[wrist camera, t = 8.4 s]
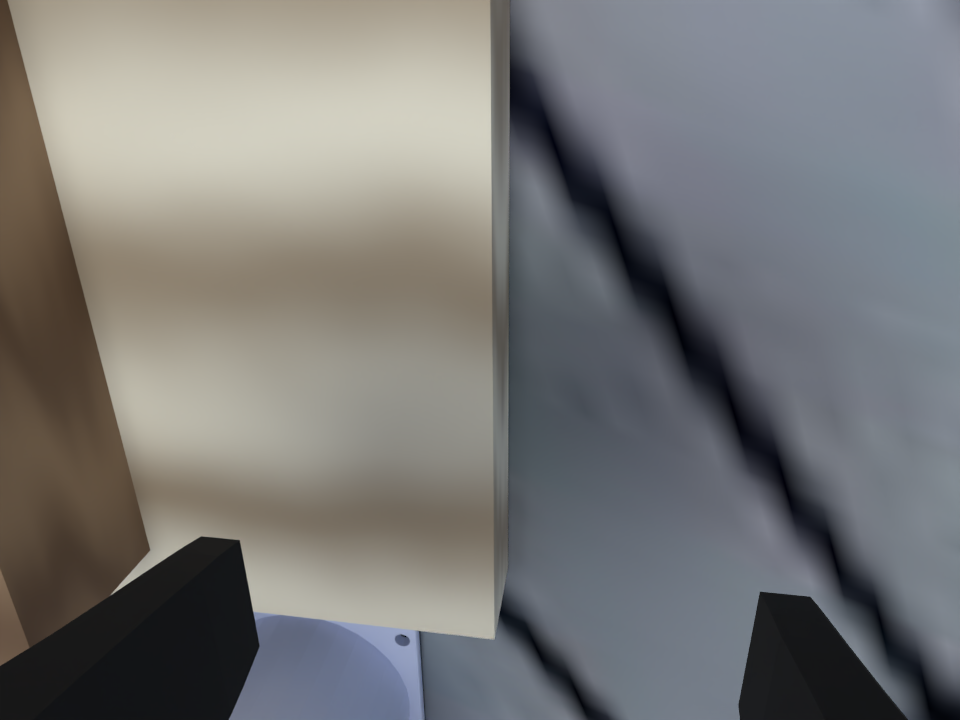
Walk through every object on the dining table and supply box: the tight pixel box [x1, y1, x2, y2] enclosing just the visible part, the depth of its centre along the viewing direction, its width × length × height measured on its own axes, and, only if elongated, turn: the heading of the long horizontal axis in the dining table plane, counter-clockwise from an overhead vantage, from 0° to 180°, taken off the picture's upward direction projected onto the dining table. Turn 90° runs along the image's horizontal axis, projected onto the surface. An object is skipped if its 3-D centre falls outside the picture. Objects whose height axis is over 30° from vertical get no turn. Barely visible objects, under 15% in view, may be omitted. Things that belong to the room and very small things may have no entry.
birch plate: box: [8, 0, 510, 640], centre depth 18 cm, size 20×13×3 cm, turn 1°
